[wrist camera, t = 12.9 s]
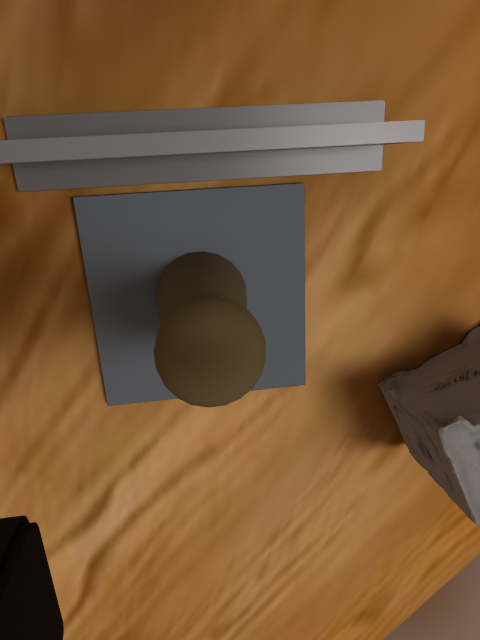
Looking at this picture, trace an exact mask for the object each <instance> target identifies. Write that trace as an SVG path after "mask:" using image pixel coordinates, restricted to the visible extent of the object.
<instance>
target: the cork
mask: <svg viewBox="0 0 480 640" xmlns="http://www.w3.org/2000/svg"><path fill="white" fill-rule="evenodd" d="M155 302H156V309H157V312H158V316H159V319H160V322H161V326H160V328H159V330H158V331H157V336H156V341H155V346H154V352H153V353H154V360H155V366H156V370H157V372H158V374H159V376H160V377H161V379H162V381H163V383H164V385H165V387H166V388H167V389H168V390H169V391H170V392H171V393H173V394H174V395H175V396H176V397H177V398H179V399H181V400H183V401H185V402H187V403H189V404H191V405H196V406H203V407H215V406H223V405H227V404H229V403H231V402H234V401H236V400H238V399H240V398H242V397H243V396H244V395H245V394H246V393H248V392H249V391H250V390H251V389H252V388H253V387H254V386H255V384H256V383H257V381H258V380H259V378H260V377H261V375H262V371H263V368H264V364H265V361H266V341H265V337H264V335H263V332H262V330H261V328H260V325H259V323H258V321H257V320H256V319H255V318H254V316H253V315H252V314H251V313H250V312H249V311H248V310H247V295H246V284H245V282H244V280H243V277H242V275H241V273H240V271H239V270H238V269H237V268H236V267H235V266H234V265H233V263H232V262H231V261H229V260H227V259H226V258H224V257H222V256H220V255H219V254H215V253H210V252H205V251H200V252H190V253H187V254H185V255H182V256H180V257H178V258H176V259H174V260H173V261H172V262H171V263H170V264H169V265H168V266H166V267H165V268H164V270H163V272H162V273H161V275H160V277H159V279H158V280H157V284H156V290H155Z"/></svg>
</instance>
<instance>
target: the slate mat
mask: <svg viewBox="0 0 480 640" xmlns="http://www.w3.org/2000/svg"><path fill="white" fill-rule="evenodd" d="M73 201H74V207H75V213H76V219H77V225H78V231H79V237H80V243H81V249H82V255H83V261H84V267H85V273H86V279H87V285H88V291H89V297H90V303H91V309H92V315H93V321H94V327H95V333H96V339H97V345H98V351H99V357H100V363H101V368H102V374H103V380H104V386H105V392H106V398H107V404H108V406H112V405H121V404H130V403H140V402H149V401H158V400H168V399H177V397H176V396H175V395H174V394H173V393H171V392H170V391H169V390H168V389H167V388H166V387H165V385H164V383H163V381H162V379H161V377H160V376H159V374H158V372H157V370H156V366H155V360H154V353H153V352H154V346H155V341H156V336H157V331H158V330H159V328H160V326H161V322H160V319H159V316H158V312H157V309H156V302H155V290H156V284H157V280H158V279H159V277H160V275H161V273H162V272H163V270H164V268H165V267H166V266H168V265H169V264H170V263H171V262H172V261H173V260H174V259H176V258H178V257H180V256H182V255H185V254H187V253H190V252H200V251H205V252H210V253H215V254H219V255H220V256H222V257H224V258H226V259H227V260H229V261H231V262H232V263H233V265H234V266H235V267H236V268H237V269H238V270H239V271H240V273H241V275H242V277H243V280H244V282H245V284H246V295H247V310H248V311H249V312H250V313H251V314H252V315H253V316H254V318H255V319H256V320H257V321H258V323H259V325H260V328H261V330H262V332H263V335H264V337H265V341H266V361H265V364H264V368H263V371H262V375H261V377H260V378H259V380H258V381H257V383H256V384H255V386H254V387H253V388H252V389H251V390H250V391H252V390H261V389H270V388H280V387H289V386H299V385H305V243H304V183H291V184H275V185H258V186H242V187H225V188H209V189H193V190H176V191H160V192H143V193H127V194H110V195H94V196H78V197H73Z"/></svg>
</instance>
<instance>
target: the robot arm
mask: <svg viewBox="0 0 480 640" xmlns="http://www.w3.org/2000/svg"><path fill="white" fill-rule="evenodd" d="M0 640H63V620H62V616H61V612H60V608H59V605H58V601H57V597H56V593H55V589H54V585H53V581H52V577H51V573H50V569H49V565H48V561H47V557H46V554H45V550H44V546H43V542H42V538H41V534H40V530H39V527H38V524H37V523H35V522H34V523H29V521H28V518H27V517H26V516H17V517H9V518H1V519H0Z"/></svg>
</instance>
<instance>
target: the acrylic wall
mask: <svg viewBox="0 0 480 640" xmlns="http://www.w3.org/2000/svg"><path fill="white" fill-rule="evenodd" d="M384 112H385V100H380V101H356V102H333V103H310V104H286V105H263V106H240V107H216V108H193V109H170V110H146V111H123V112H100V113H76V114H53V115H30V116H6V117H3V120H4V125H5V130H6V134H7V139H8V140H0V165H7V164H13V169H14V173H15V178H16V183H17V188H18V192H22V191H39V190H56V189H73V188H90V187H107V186H123V185H140V184H157V183H174V182H191V181H208V180H225V179H242V178H259V177H276V176H293V175H310V174H326V173H343V172H360V171H377V170H382V154H383V145H386V144H397V143H408V142H419V141H424V129H425V120H415V121H394V122H384Z"/></svg>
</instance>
